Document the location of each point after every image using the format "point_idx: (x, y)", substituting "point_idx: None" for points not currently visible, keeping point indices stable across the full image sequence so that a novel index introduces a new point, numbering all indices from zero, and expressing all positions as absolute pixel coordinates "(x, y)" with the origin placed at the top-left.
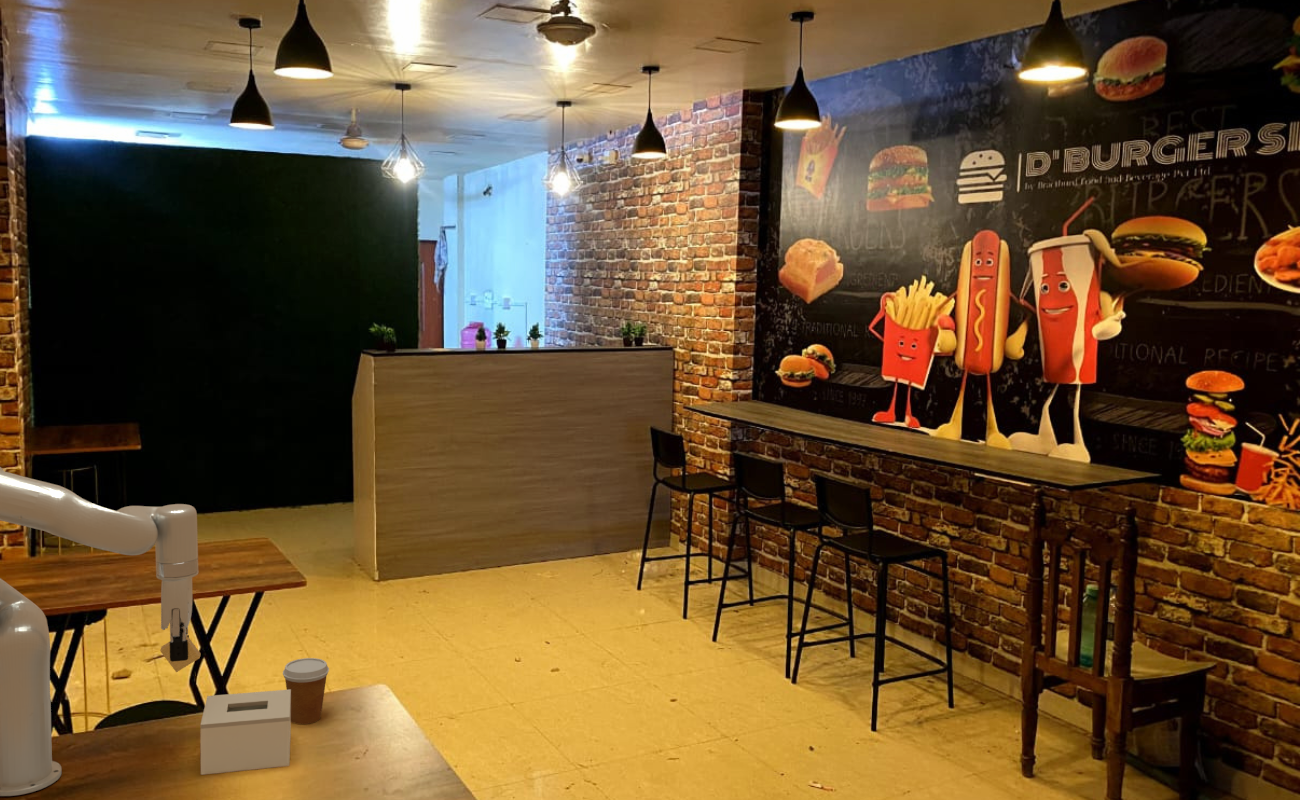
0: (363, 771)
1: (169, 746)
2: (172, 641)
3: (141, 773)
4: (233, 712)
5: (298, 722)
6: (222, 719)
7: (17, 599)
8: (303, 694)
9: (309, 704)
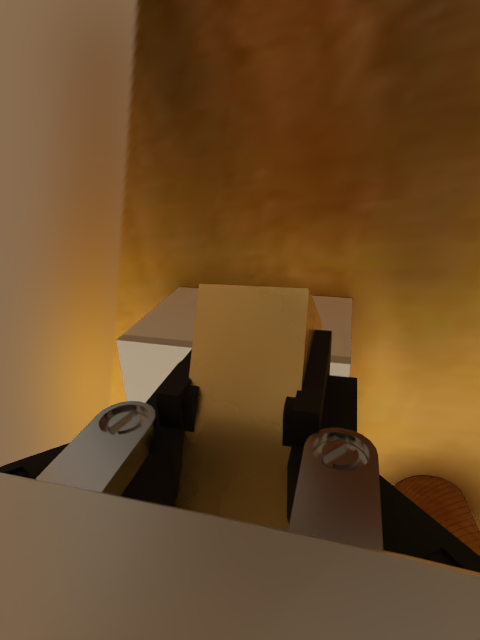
0: None
1: (363, 200)
2: (106, 425)
3: (207, 146)
4: None
5: (395, 487)
6: (147, 394)
7: None
8: None
9: None
